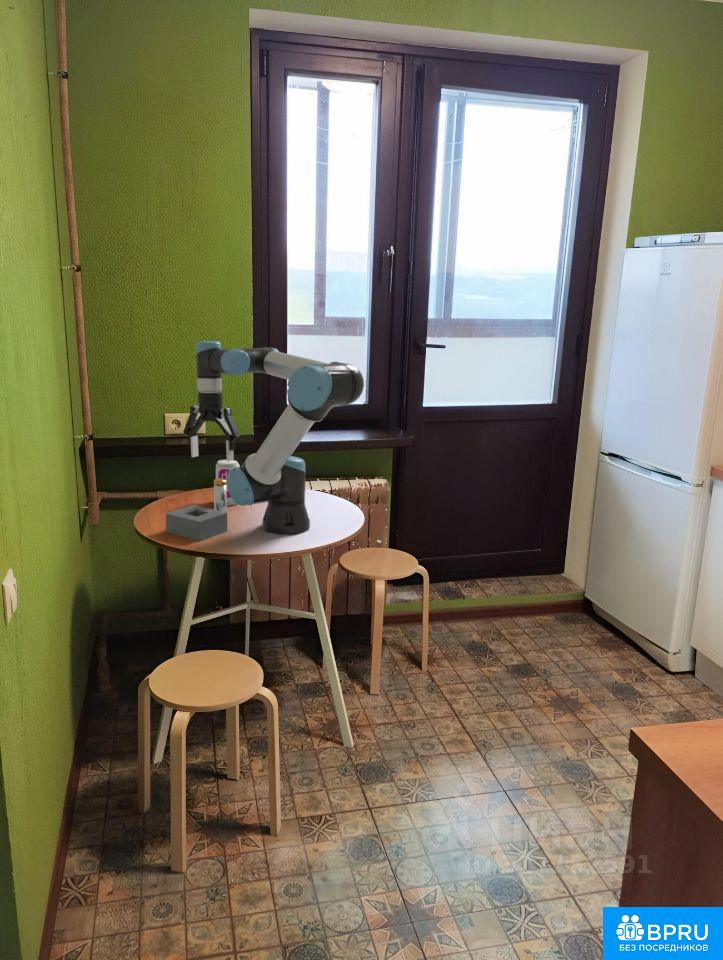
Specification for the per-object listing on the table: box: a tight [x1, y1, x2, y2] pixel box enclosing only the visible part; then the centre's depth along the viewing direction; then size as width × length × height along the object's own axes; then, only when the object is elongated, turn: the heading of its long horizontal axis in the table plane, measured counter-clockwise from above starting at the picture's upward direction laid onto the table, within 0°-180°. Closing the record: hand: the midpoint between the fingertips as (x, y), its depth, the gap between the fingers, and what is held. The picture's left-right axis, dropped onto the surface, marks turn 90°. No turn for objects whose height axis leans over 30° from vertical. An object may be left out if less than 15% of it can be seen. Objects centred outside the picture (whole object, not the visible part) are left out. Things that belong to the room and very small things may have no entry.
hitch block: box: [165, 504, 228, 542], centre depth 228 cm, size 14×12×6 cm
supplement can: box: [215, 459, 240, 507], centre depth 259 cm, size 8×8×15 cm
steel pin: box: [213, 478, 228, 514], centre depth 237 cm, size 4×4×14 cm
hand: (212, 458), depth 235 cm, fingers open, 13 cm apart
